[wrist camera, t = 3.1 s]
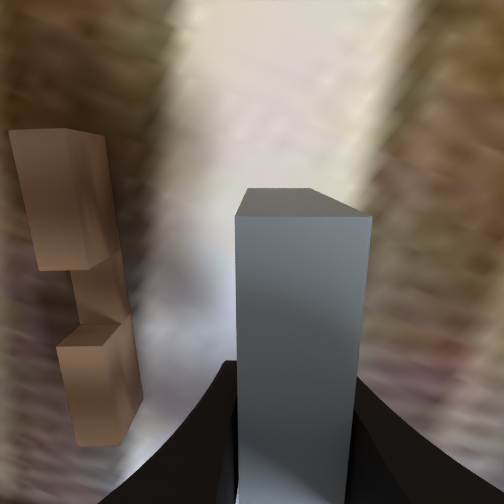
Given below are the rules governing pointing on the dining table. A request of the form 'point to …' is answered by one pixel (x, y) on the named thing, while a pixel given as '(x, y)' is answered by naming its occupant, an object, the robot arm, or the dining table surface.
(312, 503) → the crosspiece
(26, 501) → the dining table surface
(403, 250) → the dining table surface
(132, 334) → the base rail
